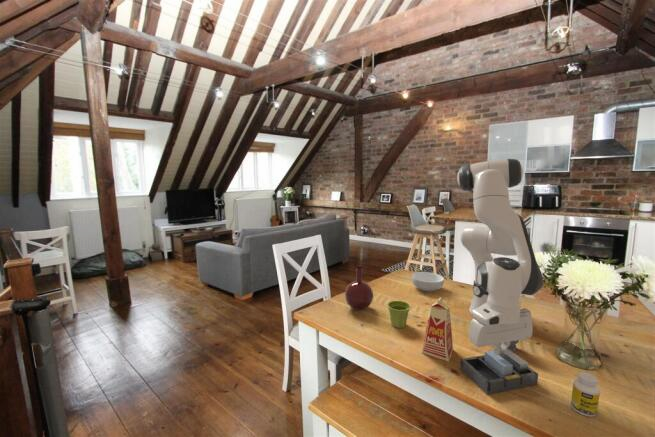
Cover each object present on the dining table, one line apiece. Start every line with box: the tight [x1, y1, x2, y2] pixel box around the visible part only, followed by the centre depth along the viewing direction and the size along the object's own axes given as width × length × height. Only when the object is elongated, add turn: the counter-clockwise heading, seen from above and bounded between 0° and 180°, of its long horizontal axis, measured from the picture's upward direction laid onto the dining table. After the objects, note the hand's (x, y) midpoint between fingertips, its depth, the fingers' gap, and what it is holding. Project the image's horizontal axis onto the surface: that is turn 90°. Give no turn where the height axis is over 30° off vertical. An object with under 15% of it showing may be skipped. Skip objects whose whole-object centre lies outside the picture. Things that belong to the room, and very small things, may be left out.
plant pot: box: [387, 300, 412, 329], centre depth 129 cm, size 9×9×9 cm
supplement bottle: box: [570, 371, 601, 418], centre depth 82 cm, size 5×5×10 cm
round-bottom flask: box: [344, 266, 374, 311], centre depth 144 cm, size 13×13×20 cm
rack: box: [459, 349, 539, 395], centre depth 96 cm, size 12×18×6 cm
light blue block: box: [484, 350, 513, 377], centre depth 96 cm, size 3×8×5 cm, turn 13°
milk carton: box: [421, 296, 454, 362], centre depth 109 cm, size 9×9×20 cm
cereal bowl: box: [411, 271, 445, 292], centre depth 168 cm, size 17×17×7 cm
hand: (499, 353), depth 95 cm, fingers closed
